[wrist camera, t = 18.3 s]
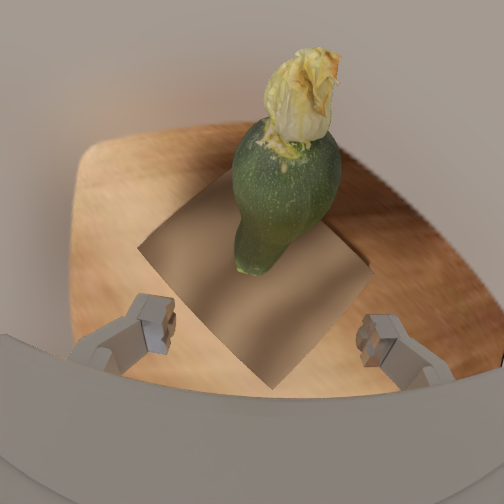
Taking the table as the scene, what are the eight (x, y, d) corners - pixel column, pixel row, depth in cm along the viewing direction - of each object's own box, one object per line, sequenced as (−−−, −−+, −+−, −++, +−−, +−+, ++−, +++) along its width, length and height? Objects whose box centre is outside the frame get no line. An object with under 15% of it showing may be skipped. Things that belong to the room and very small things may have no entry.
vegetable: (246, 229, 24) (274, -9, 5) (291, 249, 24) (412, 41, 5) (224, 274, 23) (193, 42, 4) (272, 295, 23) (419, 122, 4)
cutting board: (367, 276, 25) (374, 273, 24) (270, 386, 22) (272, 389, 20) (246, 164, 28) (246, 156, 27) (142, 252, 25) (136, 248, 23)
